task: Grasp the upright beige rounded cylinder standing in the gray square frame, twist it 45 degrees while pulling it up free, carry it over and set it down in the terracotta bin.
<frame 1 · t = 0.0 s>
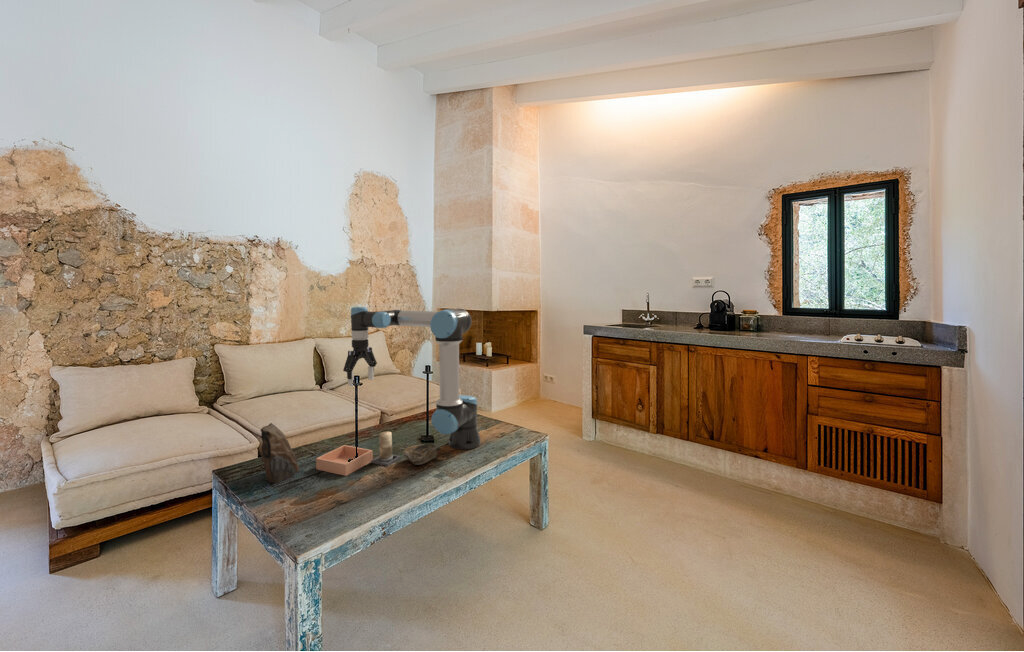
hand: (361, 382, 202), 28 cm above the table, fingers open, 13 cm apart
gray square frame: (386, 460, 180), on the table
beige rounded cylinder: (385, 447, 179), in the gray square frame
tray: (345, 464, 175), on the table
stone: (420, 462, 179), on the table
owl: (281, 476, 165), on the table
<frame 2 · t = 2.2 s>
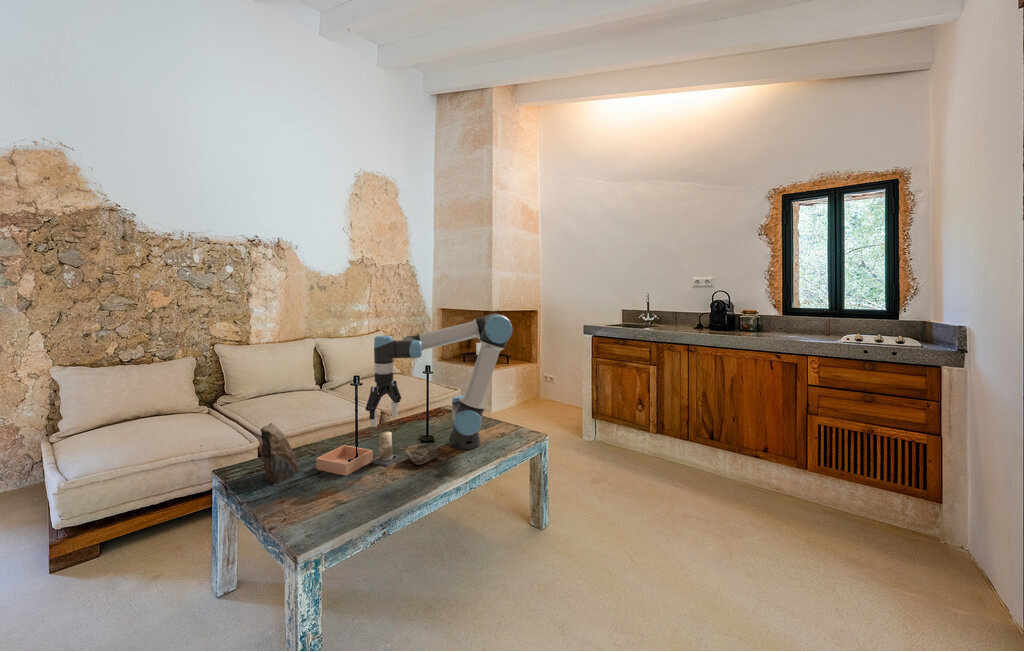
hand: (384, 421, 178), 17 cm above the table, fingers open, 13 cm apart
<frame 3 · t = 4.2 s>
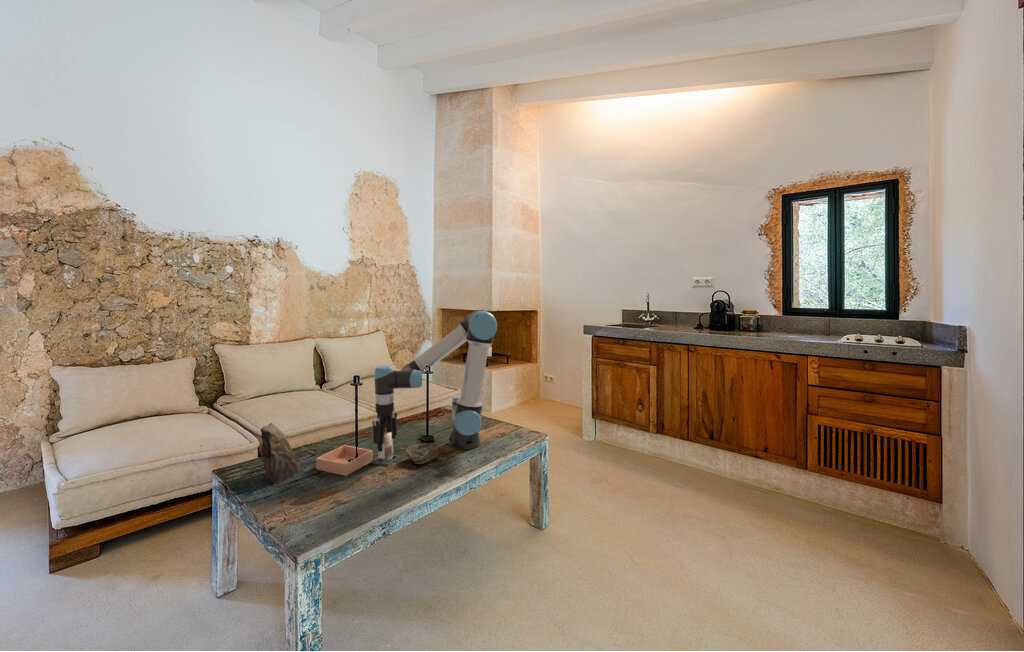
hand: (386, 455, 179), 2 cm above the table, fingers closed on beige rounded cylinder, 5 cm apart
beige rounded cylinder: (385, 447, 179), in the gray square frame, touching gripper
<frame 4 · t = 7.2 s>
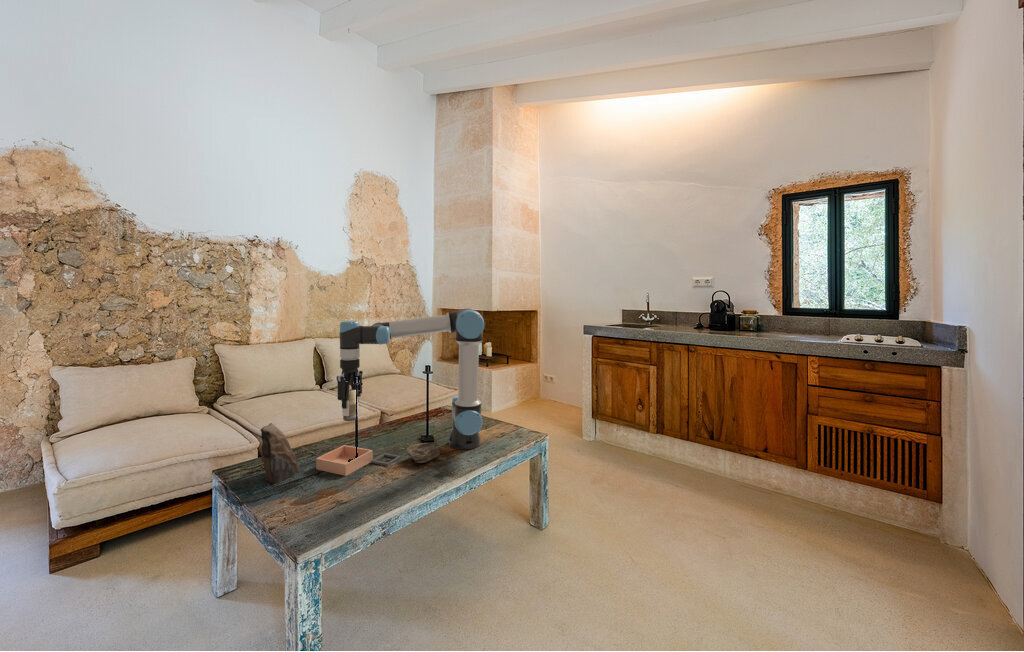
hand: (350, 413, 174), 22 cm above the table, fingers closed on beige rounded cylinder, 5 cm apart
beige rounded cylinder: (350, 404, 173), point 26 cm above the table, touching gripper
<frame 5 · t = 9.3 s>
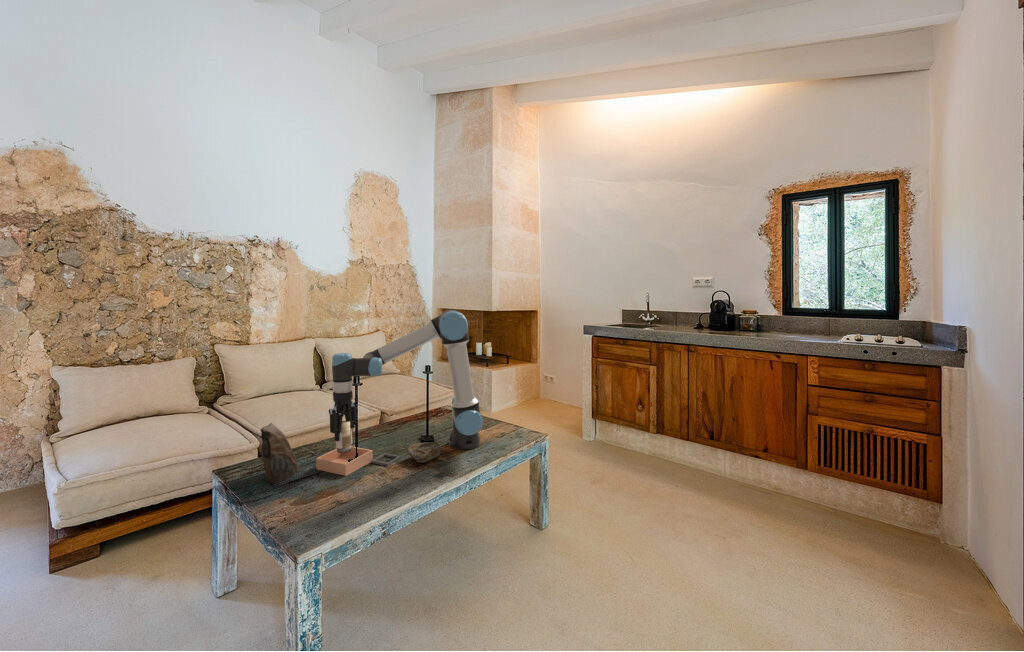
hand: (344, 445, 174), 8 cm above the table, fingers closed on beige rounded cylinder, 5 cm apart
beige rounded cylinder: (343, 436, 174), point 12 cm above the table, touching gripper
when the fingers open (4 cm above the table, at t = 10.7 s): beige rounded cylinder drops 1 cm, resting on tray.
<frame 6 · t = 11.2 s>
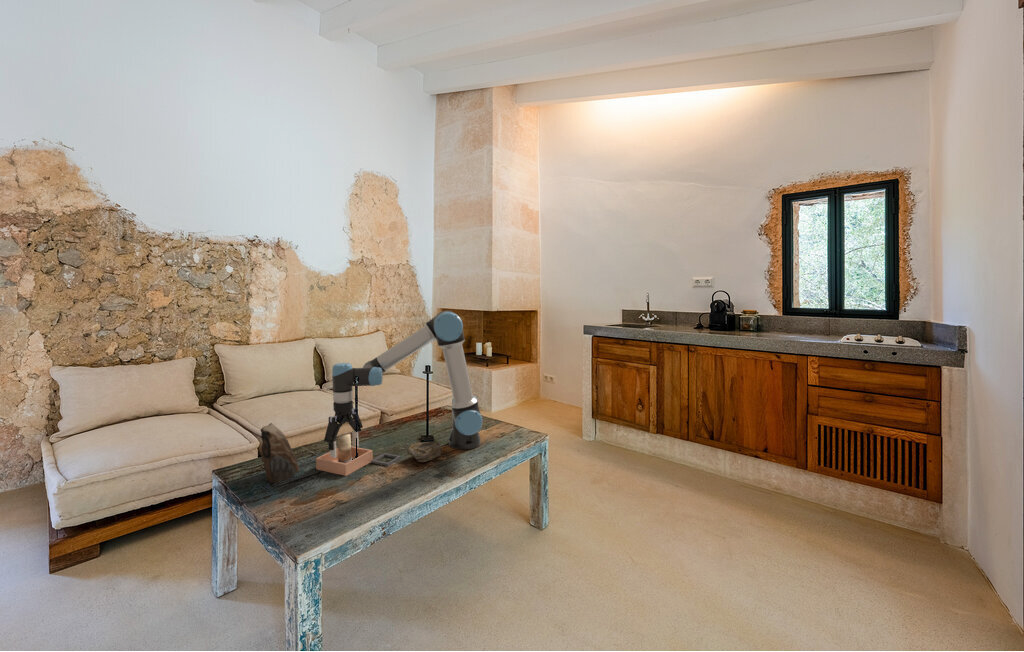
hand: (344, 451, 175), 6 cm above the table, fingers open, 12 cm apart
beige rounded cylinder: (344, 449, 174), in the tray, point 7 cm above the table
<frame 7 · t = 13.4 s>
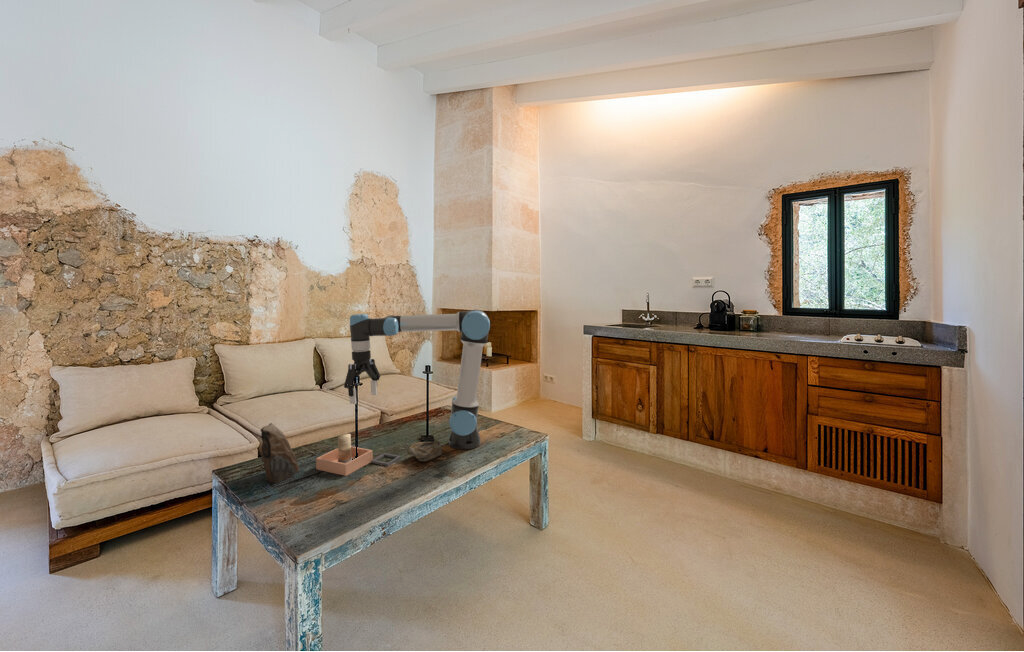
hand: (364, 399, 180), 26 cm above the table, fingers open, 13 cm apart
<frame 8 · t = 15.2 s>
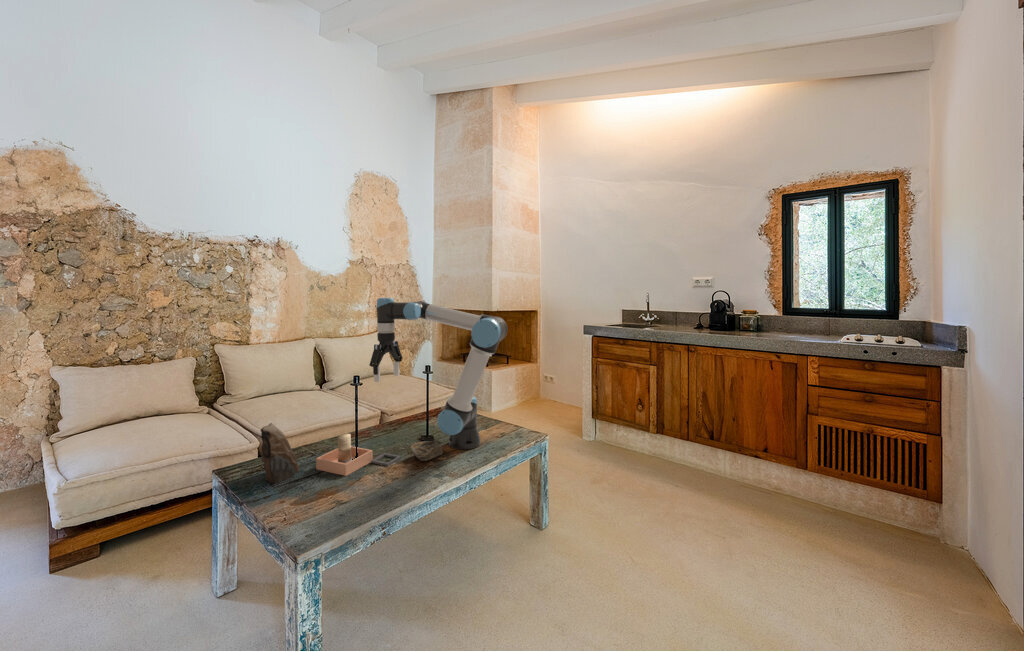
hand: (387, 378, 190), 33 cm above the table, fingers open, 13 cm apart
at the end: beige rounded cylinder inside the target area on the tray (0.0 cm from its centre), point 6.6 cm above the tray's base; the gripper is holding nothing; beige rounded cylinder moved 16.4 cm from its start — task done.
